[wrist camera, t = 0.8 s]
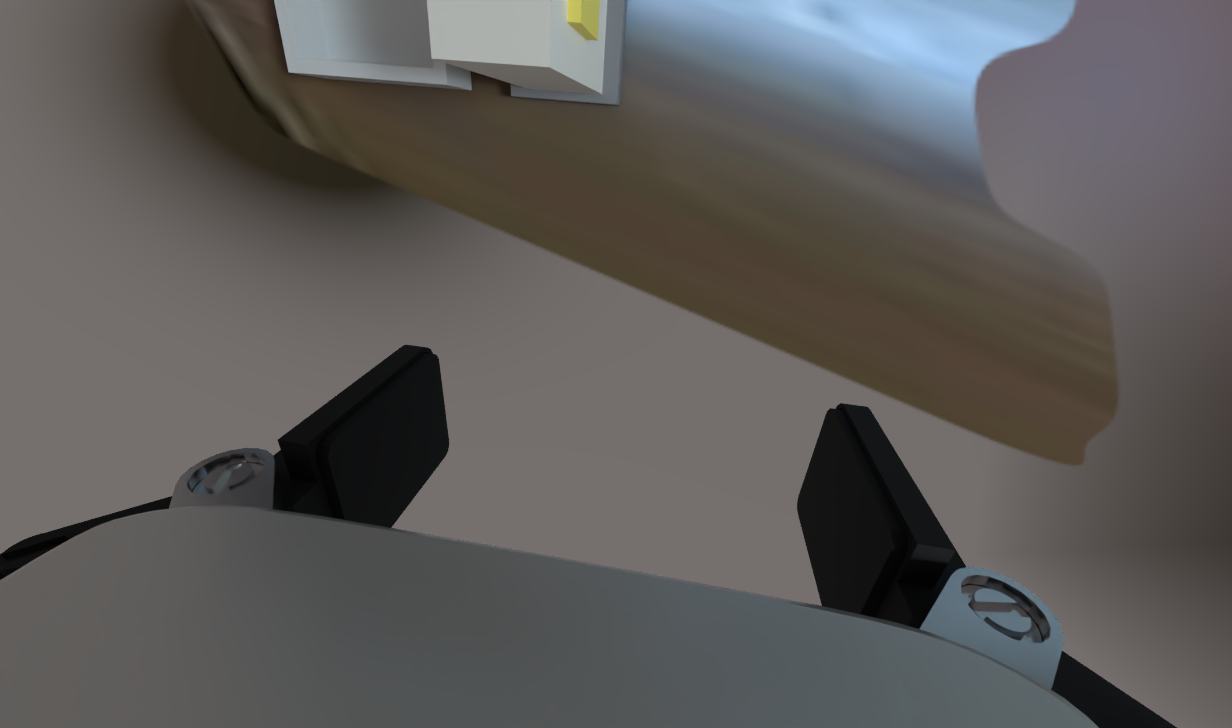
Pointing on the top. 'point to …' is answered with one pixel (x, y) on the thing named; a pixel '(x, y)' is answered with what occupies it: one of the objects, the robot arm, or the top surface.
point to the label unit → (536, 45)
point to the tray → (364, 42)
